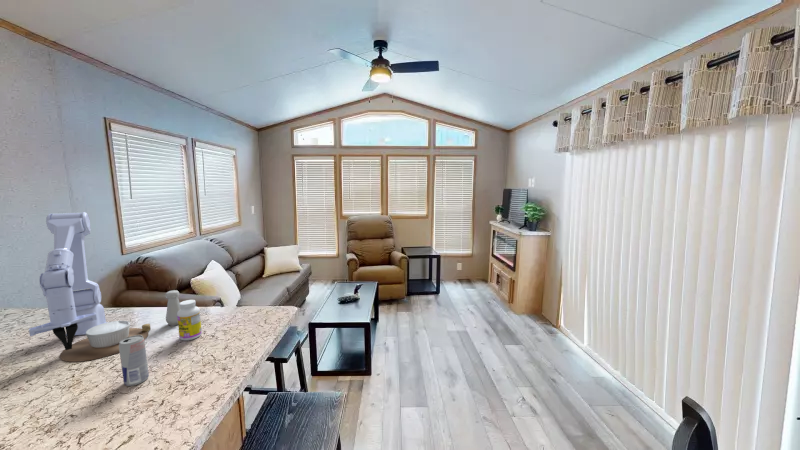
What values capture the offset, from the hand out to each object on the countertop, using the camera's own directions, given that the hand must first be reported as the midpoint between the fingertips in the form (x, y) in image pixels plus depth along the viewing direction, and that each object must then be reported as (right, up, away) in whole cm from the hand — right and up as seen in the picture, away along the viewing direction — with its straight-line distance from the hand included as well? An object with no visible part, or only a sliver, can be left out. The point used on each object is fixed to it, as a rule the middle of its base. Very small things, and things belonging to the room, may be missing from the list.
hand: (68, 348), depth 101 cm
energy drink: (+33, -4, -13) cm, 35 cm away
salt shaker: (+18, +1, +22) cm, 29 cm away
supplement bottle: (+31, -1, +12) cm, 33 cm away
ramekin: (+6, -1, +8) cm, 10 cm away
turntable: (+6, -1, +7) cm, 9 cm away
